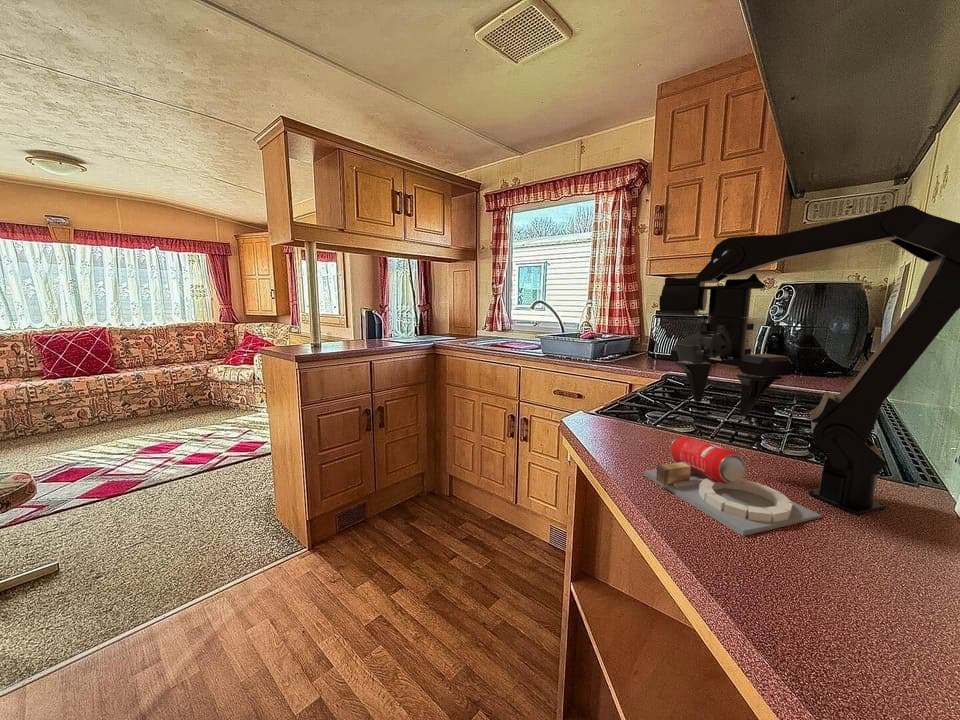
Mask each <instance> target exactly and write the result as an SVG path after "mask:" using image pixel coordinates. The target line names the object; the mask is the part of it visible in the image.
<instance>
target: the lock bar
mask: <svg viewBox="0 0 960 720" xmlns="http://www.w3.org/2000/svg"><path fill="white" fill-rule="evenodd" d="M656 469H657V475H656V480H657V481H659V482H661V483H662V484H664V485H665V484H672V483H676V482H683V481H689V480H690V469H691V466H689V465H687V464H685V463H683V462H679V463H677V462H673V463H664V464H658V465H656Z"/></svg>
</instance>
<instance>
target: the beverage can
mask: <svg viewBox="0 0 960 720" xmlns="http://www.w3.org/2000/svg"><path fill="white" fill-rule="evenodd" d="M669 447H670V448H669V454H670V456H671V458H672V459H673V461H674V462H675V463H679V462H683V463H685V464H687V465H689V466H691V470H694V471H696V472H698V473H700V474H703V475H705V476H707V477H709V478H712V479H714V480H716V481H718V482H721V483H724V484H729V483H731V484H733V483H737V482H739V481H740V480H741V479H742V478H743V479H744V477H745V474H746V470H747V467H746V463H745V461H744V459H743V458H742V457H741V456H740V455H739V454H738V453H737V452H735V451H732V450H730V449H727V448H724V447H721V446H718V445H716V444H712V443H710V442H709V443H708V442H705V441H701V440H700V439H696V438H693V437H690V436H680V437H679V436H678V437H676V438H675V439H674V440H673V441H672V442H671V443H670V446H669Z"/></svg>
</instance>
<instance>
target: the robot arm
mask: <svg viewBox="0 0 960 720" xmlns="http://www.w3.org/2000/svg"><path fill="white" fill-rule="evenodd" d="M883 241H884V242H886V241H888V242H890V243H892V244H894V245H896V246H898V247H899V248H901V249H903V250H904V251H906V252H908V253H909V254H910V255H913V256H914V257H916V258H918V259H920V260H922V261H924V262H926V263H927V266H926V268H925V270H924V272H923V274H922V276H921V279H920V282H919V285H918V288H917V290H916V294H915V297H914V298H913V301H912V302H911V303H910V305H909V306H908V307H907V308H906V310H905V311H904V313H903V314H902V315H901V316H900V318H899V319H898V321H897V322H896V323H895V325H894V326H893V328H891V330H890V331H889V333H888V334H887V335H886V337H885V338H884V339H883V340H882V341H881V343H880V345H878V347H877V348H876V350H875V351H874V353H873V354H872V355H871V356H870V358H869V359H868V360H867V362H865V364H864V365H863V367H862V368H861V370H860V371H859V372H858V373H857V375H856V376H855V378H854V379H853V381H852V382H851V383H850V384H849V385H848V386H847V387H846V388H844V390H842V391H841V392H840V393H838V394H837V395H834V394H832V393H831V392H829V391H825V392H824V394H823V396H822V398H821V401H820V402H819V404H818V405H817V406H816V407H815V408H813V409H812V410H809V411H810V412H809V413H810V417H811V422H810V425H811V426H810V427H811V432H812V433H811V434H812V438H813V441H814V443H815V444H816V445H817V446H818V447H819V448H820V449H821V450H823V451H825V452H826V453H827V455H825V457H824V459H823V465H822V471H821V476H820V482H819V488H813V489H808V491H807V493H808V495H810V496H812V497H815V498H817V499H820V500H822V501H824V502H826V503H829V504H831V505H834V506H836V507H838V508H841V509H843V510H845V511H846V512H850V513H852V514H855V515H860V514H865V513H871V512H875V511H879V510H884V509H886V508H887V504H886V503H883V502H880V501H878V500H875V499H874V498H875V492H876V487H877V479H878V476H879V474H880V473H881V472H882V470H883V469H884V468H885V466H886V465H887V463H886V460H885V459H884V457H883V455H882V453H881V452H880V450H879V448H878V446H877V445H876V444H875V443H874V442H873V440H871V439H870V437H871V434H872V433H873V430H874V429H875V428H874V427H875V426H876V423H877V420H878V417H879V415H880V411H881V408H882V406H883V403H884V402H885V401H886V400H887V398H888V397H889V396H890V395H891V393H892V392H893V390H894V389H896V387H897V386H898V384H900V382H901V381H902V380H903V378H904V377H905V376H906V374H907V373H908V372H909V371H910V369H912V367H913V366H914V365H915V363H916V362H917V361H918V360H919V358H920V357H921V356H922V355H923V353H924V352H925V351H926V350H927V348H929V346H930V344H932V342H933V341H934V340H935V338H936V337H937V336H938V335H939V333H940V332H941V331H942V330H943V328H945V326H946V325H947V324H948V322H949V321H950V320H951V318H952V317H953V316H954V315H955V314H956V313H957V311H958V310H960V222H957V221H953V220H950V219H947V218H943V217H941V216H937V215H933V214H930V213H928V212H925V211H923V210H921V209H919V208H917V207H915V206H913V205H909V204H905V205H904V204H903V205H896V206H894V207H892V208H889V209H886V210H882V211H879V212H875V213H869V214H865V215H861V216H855V217H851V218H847V219H843V220H839V221H835V222H829V223H825V224H821V225H816V226H811V227H807V228H803V229H799V230H794V231H789V232H784V233H780V234H779V233H777V234H761V235H760V234H758V235H756V234H753V235H743V236H732V237H727V238H725V239H722V240H721V241H719V242H718V243H717V244H716V246H715V247H714V248H713V249H712V252H711V255H710V260H709V262H708V263H707V264H706V265H705V267H703V268H702V270H701V271H700V272H699V273H698V274H697V275H696V277H682V278H681V277H673V276H672V277H671V276H670V277H665V279H664V284H663V287H662V290H661V295H659V303H658V305H659V313H660V315H661V316H664V317H665V316H668V317H672V316H674V317H698V315H699V313H700V312H701V311H705V310H706V308H707V303H709V304H708V314H707V315H708V316H707V322H701V324H700V326H699V331H698V333H694V334H691V335H689V336H686V337H684V338H682V339H680V340H677V341H676V342H675V345H674V346H673V347H672V348H671V349H670V354H669V355H670V357H669V361H670V360H671V361H675V362H674V364H675V365H676V366H677V367H680V369H682V370H683V372H684V373H685V375H686V377H687V380H688V383H689V387H690V390H691V393H692V397H693V400H694V402H695V403H701V401H703V400H702V399H703V397H704V393H705V391H706V386H707V384H708V383H707V382H708V379H709V376H710V371H711V367H712V363H717V364H721V365H727V366H734V367H738V369H739V370H740V372H741V374H736V377H737V379H738V381H739V382H740V384H741V388H740V389H741V390H740V399H739V400H740V401H739V414H740V416H742V417H747V416H748V415H749V413H750V412H751V411H752V409H753V408H754V406H755V405H756V404H757V402H758V401H759V400H760V398H761V397H762V396H763V394H764V393H765V392H766V391H767V389H768V388H769V387H770V386H771V385H772V384H773V383H774V382H775V381H776V380H778V381H779V380H782V379H783V378H782V377H783V376H785V377H786V376H792V372H793V371H792V369H793V363H792V361H791V359H790V358H789V357H788V356H785V355H777V354H772V353H771V354H770V353H756V354H755V353H754V354H753V353H752V348H748V347H747V348H746V345H747V344H746V343H747V335H748V331H754V327H755V323H749V314H750V306H751V295H752V290H764V289H766V287H767V285H766V284H765V283H763V282H762V281H761V280H760V278H759V277H758V275H757V273H752V274H751V275H750V276H749V277H748V278H736V279H735V278H734V279H730V278H729V279H726V278H727V277H739V276H742V275H745V274H748V273H751V272H754V271H758V270H760V269H764V268H766V267H768V266H771V265H773V264H776V263H779V262H782V261H784V260H790V259H795V258H801V257H806V256H810V255H815V254H821V253H827V252H831V251H837V250H842V249H847V248H851V247H852V248H853V247H856V246H857V247H858V246H863V245H867V244H872V243H879V242H883ZM724 279H726V281H725V284H724V285H706V284H716V283H720V281H723V280H724ZM705 285H706V286H705ZM708 291H709V292H710V293H709V300H708ZM708 301H709V302H708ZM718 356H719V357H718Z"/></svg>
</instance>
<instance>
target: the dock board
mask: <svg viewBox="0 0 960 720" xmlns="http://www.w3.org/2000/svg"><path fill="white" fill-rule="evenodd" d="M656 475H657V468H654V469H646V470H643V476H644V477H646V478H648V479H649V480H651V481H652V482H654V483H656V484H658V485H659V486H661V487H662V488H664V489H665V490H667V491H669V492H671V493H672V494H673V495H675V496H677V497H678V498H680V499H682V500H683V501H685V502H687V503H688V504H690V505H691V506H693V507H695V508H696V509H698V510H699V511H701V512H703V513H705V514H706V515H708V516H709V517H711V519H712V518H713V519H714V520H715V521H717V522H719V523H720V524H722V525H724V526H725V527H727V528H729V529H730V530H731V531H734V532H735V533H736V534H738V535H740V536H742V537H745V536H748V535H753V534H754V535H755V534H756V533H757V534H758V533H761V532H766V531H770V530H774V529H779V528H782V527H786V526H792V525H795V524H800V523H803V522H804V523H805V522H808V521H812V520H816V519H820V518H822V514H821V513H820V514H819V513H818V512H816V511H814V510H811V509H809V508H807V507H805V506H803V505H801V504H799V503H797V502H794V501H792V500H790V499H789V498H788V497H787V496H786V495H785V494H783V493H781V491H778V490H776V489H774V488H771V487H769V486H767V485H765V484H762V483H758V482H755V481H753V480H752V481H751V480H748V479H745V478H744V477H743V478H742V479H741V480H740V481H739V482H737V483H733V484H731V483H729V484H724V483H721V482H718V481H716V480H714V479H712V478H709V477H707V476H705V475H703V474H700V473H698V472H696V471H694V470H691V469H690V480H689V481H683V482H676V483H672V484H665V485H664V484H662V483H661V482H659V481H657V480H656Z"/></svg>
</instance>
